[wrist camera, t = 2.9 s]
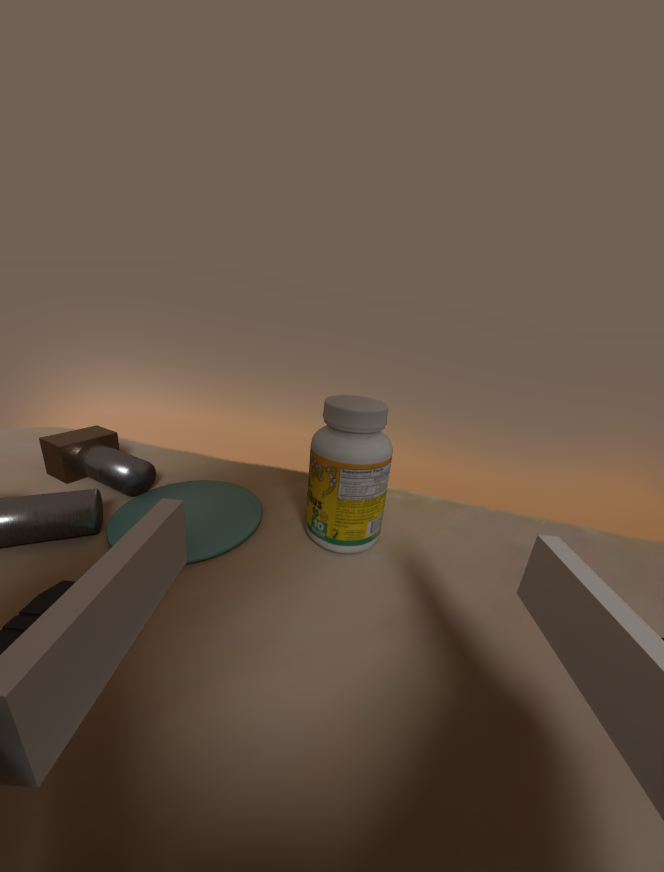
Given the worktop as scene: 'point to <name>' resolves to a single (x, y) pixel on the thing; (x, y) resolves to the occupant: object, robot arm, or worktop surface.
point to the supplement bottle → (348, 475)
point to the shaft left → (49, 516)
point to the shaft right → (96, 460)
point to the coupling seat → (198, 516)
